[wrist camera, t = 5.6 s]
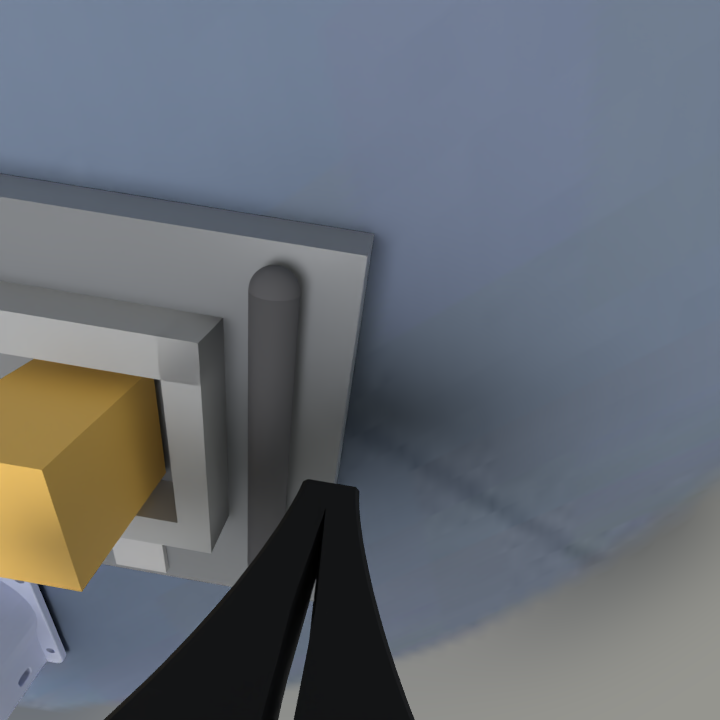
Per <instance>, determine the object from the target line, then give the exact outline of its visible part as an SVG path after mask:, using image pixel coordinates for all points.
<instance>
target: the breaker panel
mask: <svg viewBox="0 0 720 720" xmlns="http://www.w3.org/2000/svg"><path fill="white" fill-rule="evenodd" d="M373 239H374V234H372V233H366V232H360V231H354V230H347V229H341V228H335V227H329V226H323V225H316V224H310V223H304V222H298V221H291V220H285V219H279V218H273V217H267V216H260V215H254V214H248V213H242V212H235V211H229V210H223V209H217V208H211V207H204V206H198V205H192V204H186V203H179V202H173V201H167V200H161V199H155V198H148V197H142V196H136V195H130V194H123V193H117V192H111V191H105V190H98V189H92V188H86V187H80V186H74V185H67V184H61V183H55V182H49V181H42V180H36V179H30V178H24V177H18V176H11V175H5V174H0V379H1V378H3V377H4V376H6V375H8V374H9V373H11V372H13V371H14V370H16V369H18V368H19V367H21V366H23V365H24V364H26V363H28V362H29V361H31V360H33V359H39V360H45V361H51V362H57V363H63V364H69V365H75V366H81V367H86V368H92V369H98V370H104V371H110V372H116V373H122V374H128V375H134V376H140V377H146V378H152V379H154V384H155V391H156V399H157V407H158V414H159V422H160V430H161V438H162V445H163V453H164V461H165V469H166V473H165V475H164V476H163V478H162V479H161V481H160V482H159V483H158V485H157V486H156V488H155V489H154V490H153V492H152V493H151V495H150V496H149V498H148V499H147V500H146V502H145V503H144V505H143V506H142V507H141V509H140V510H139V512H138V513H137V514H136V516H135V517H134V519H133V520H132V522H131V523H130V524H129V526H128V527H127V529H126V530H125V531H124V533H123V534H122V536H121V537H120V539H119V540H118V541H117V543H116V544H115V546H114V547H113V548H112V550H111V551H110V553H109V554H108V555H107V557H106V558H105V560H104V561H103V563H102V564H105V565H111V566H116V567H122V568H128V569H133V570H139V571H145V572H150V573H156V574H162V575H167V576H173V577H179V578H184V579H190V580H196V581H201V582H207V583H213V584H218V585H224V586H230V587H233V585H234V584H235V583H236V582H237V580H238V579H239V578H240V576H241V575H242V574H243V573H244V571H245V570H246V569H247V568H248V563H247V552H248V288H249V282H250V280H251V278H252V276H253V275H254V274H255V272H256V271H258V270H259V269H261V268H262V267H265V266H268V265H279V266H283V267H285V268H287V269H289V270H290V271H291V272H292V273H293V274H294V275H295V276H296V278H297V279H298V281H299V284H300V288H301V296H300V311H299V326H298V340H297V355H296V369H295V384H294V398H293V413H292V427H291V442H290V456H289V471H288V485H287V500H286V512H287V510H288V509H289V507H290V505H291V504H292V502H293V500H294V498H295V497H296V495H297V493H298V491H299V489H300V487H301V485H302V482H303V481H305V480H307V479H311V480H317V481H323V482H329V483H335V484H337V479H338V472H339V466H340V459H341V452H342V446H343V439H344V432H345V426H346V419H347V412H348V406H349V399H350V392H351V386H352V379H353V372H354V366H355V359H356V352H357V346H358V339H359V332H360V326H361V319H362V312H363V306H364V299H365V293H366V286H367V279H368V273H369V266H370V259H371V253H372V246H373ZM315 584H316V580H315ZM315 584H314V587H313V591H312V595H311V598H310V601H314V593H315Z"/></svg>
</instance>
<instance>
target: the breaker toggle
mask: <svg viewBox="0 0 720 720" xmlns="http://www.w3.org/2000/svg"><path fill="white" fill-rule="evenodd" d="M165 473H166V469H165V461H164V453H163V445H162V438H161V430H160V422H159V414H158V407H157V399H156V391H155V384H154V379H152V378H146V377H140V376H134V375H128V374H122V373H116V372H110V371H104V370H98V369H92V368H86V367H81V366H75V365H69V364H63V363H57V362H51V361H45V360H39V359H33V360H31V361H29V362H28V363H26V364H24V365H23V366H21V367H19V368H18V369H16V370H14V371H13V372H11V373H9V374H8V375H6V376H4V377H3V378H1V379H0V577H2V578H8V579H13V580H19V581H25V582H30V583H36V584H41V585H47V586H53V587H58V588H64V589H70V590H75V591H81V592H82V591H83V589H84V588H85V587H86V585H87V584H88V582H89V581H90V579H91V578H92V577H93V575H94V574H95V572H96V571H97V570H98V568H99V567H100V565H101V564H102V563H103V561H104V560H105V558H106V557H107V555H108V554H109V553H110V551H111V550H112V548H113V547H114V546H115V544H116V543H117V541H118V540H119V539H120V537H121V536H122V534H123V533H124V531H125V530H126V529H127V527H128V526H129V524H130V523H131V522H132V520H133V519H134V517H135V516H136V514H137V513H138V512H139V510H140V509H141V507H142V506H143V505H144V503H145V502H146V500H147V499H148V498H149V496H150V495H151V493H152V492H153V490H154V489H155V488H156V486H157V485H158V483H159V482H160V481H161V479H162V478H163V476H164V475H165Z"/></svg>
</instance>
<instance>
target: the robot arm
mask: <svg viewBox="0 0 720 720" xmlns="http://www.w3.org/2000/svg"><path fill="white" fill-rule="evenodd" d="M315 580H316V584H315ZM314 584H315V593H314V602H313V611H312V620H311V629H310V638H309V645H308V650H307V655H306V660H305V665H304V671H303V676H302V681H301V686H300V691H299V696H298V701H297V706H296V711H295V716H294V720H414V717H413V715H412V712H411V709H410V707H409V704H408V701H407V699H406V696H405V693H404V690H403V687H402V685H401V682H400V679H399V676H398V673H397V670H396V667H395V664H394V661H393V658H392V655H391V652H390V649H389V646H388V642H387V639H386V636H385V632H384V629H383V626H382V622H381V619H380V615H379V611H378V607H377V604H376V600H375V596H374V592H373V588H372V583H371V579H370V575H369V570H368V565H367V560H366V555H365V550H364V544H363V538H362V530H361V522H360V511H359V490H358V489H357V488H356V487H352V486H346V485H340V484H335V483H329V482H323V481H317V480H311V479H307V480H305V481H303V482H302V485H301V487H300V489H299V491H298V493H297V495H296V497H295V498H294V500H293V502H292V504H291V505H290V507H289V509H288V510H287V512H286V514H285V515H284V517H283V518H282V520H281V522H280V523H279V525H278V526H277V528H276V529H275V530H274V532H273V533H272V535H271V536H270V538H269V539H268V541H267V542H266V543H265V545H264V546H263V548H262V549H261V551H260V552H259V553H258V555H257V556H256V557H255V559H254V560H253V561H252V562H251V564H250V565H249V566H248V568H247V569H246V570H245V571H244V573H243V574H242V575H241V576H240V578H239V579H238V580H237V582H236V583H235V584H234V585H233V587H232V588H231V589H230V590H229V591H228V593H227V594H226V595H225V596H224V597H223V599H222V600H221V601H220V602H219V603H218V604H217V606H216V607H215V608H214V609H213V610H212V611H211V612H210V614H209V615H208V616H207V617H206V618H205V619H204V620H203V621H202V623H201V624H200V625H199V626H198V627H197V628H196V629H195V630H194V631H193V632H192V633H191V634H190V636H189V637H188V638H187V639H186V640H185V641H184V642H183V643H182V644H181V645H180V646H179V647H178V648H177V649H176V650H175V651H174V652H173V653H172V654H171V655H170V657H169V658H168V659H167V660H166V661H165V662H164V663H163V664H162V665H161V666H160V667H159V668H158V669H157V670H156V671H155V672H154V673H153V674H152V675H151V676H150V677H149V678H148V679H147V680H146V681H145V682H143V683H142V684H141V685H140V686H139V687H138V688H137V689H136V690H135V691H134V692H133V693H132V694H131V695H130V696H129V697H128V698H126V699H125V700H124V701H123V702H122V703H121V704H120V705H119V706H118V707H117V708H116V709H115V710H114V711H113V712H112V713H111V714H110V715H108V716H107V717H106V718H105V719H104V720H278V718H279V713H280V708H281V703H282V699H283V695H284V691H285V687H286V683H287V679H288V675H289V672H290V668H291V665H292V661H293V658H294V654H295V651H296V647H297V644H298V640H299V637H300V633H301V630H302V626H303V623H304V619H305V616H306V612H307V609H308V605H309V602H310V598H311V595H312V591H313V587H314ZM65 657H66V652H65V649H64V647H63V645H62V642H61V640H60V637H59V635H58V632H57V630H56V628H55V625H54V623H53V620H52V618H51V616H50V613H49V611H48V608H47V606H46V603H45V601H44V599H43V596H42V594H41V591H40V589H39V586H38V584H36V583H30V582H25V581H19V580H13V579H8V578H2V577H0V720H7V719H8V717H9V716H10V714H11V713H12V711H13V710H14V708H15V707H16V706H17V704H18V703H19V701H20V700H21V698H22V697H23V695H24V694H25V692H26V691H27V689H28V688H29V686H30V685H31V683H32V682H33V681H34V679H35V678H36V676H37V675H38V673H39V672H40V670H41V669H42V667H43V666H44V664H45V663H46V661H48V662H54V663H61V662H62V661H63V660H64V659H65Z"/></svg>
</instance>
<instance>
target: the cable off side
mask: <svg viewBox="0 0 720 720" xmlns="http://www.w3.org/2000/svg"><path fill="white" fill-rule="evenodd" d="M300 296H301V288H300V284H299V281H298V279H297V278H296V276H295V275H294V274H293V273H292V272H291V271H290V270H289V269H287V268H285V267H283V266H279V265H268V266H265V267H262V268H261V269H259V270H258V271H256V272H255V274H254V275H253V276H252V278H251V280H250V282H249V288H248V552H247V563H248V566H249V565H250V564H251V562H252V561H253V560H254V559H255V557H256V556H257V555H258V553H259V552H260V551H261V549H262V548H263V546H264V545H265V543H266V542H267V541H268V539H269V538H270V536H271V535H272V533H273V532H274V530H275V529H276V528H277V526H278V525H279V523H280V522H281V520H282V518H283V517H284V515H285V514H286V500H287V485H288V471H289V456H290V442H291V427H292V413H293V398H294V384H295V369H296V355H297V340H298V326H299V311H300Z"/></svg>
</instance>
